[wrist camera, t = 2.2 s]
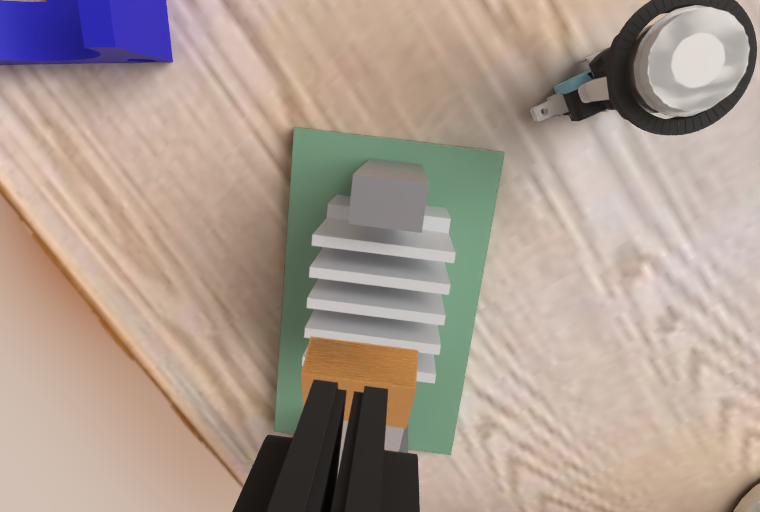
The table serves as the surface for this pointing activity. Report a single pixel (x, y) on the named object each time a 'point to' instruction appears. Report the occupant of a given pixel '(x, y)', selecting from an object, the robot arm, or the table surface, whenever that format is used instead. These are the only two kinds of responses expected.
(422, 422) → the board
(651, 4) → the push button
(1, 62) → the blue cradle bracket
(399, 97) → the table surface
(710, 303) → the table surface
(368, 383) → the hinged grey bar
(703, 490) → the table surface
